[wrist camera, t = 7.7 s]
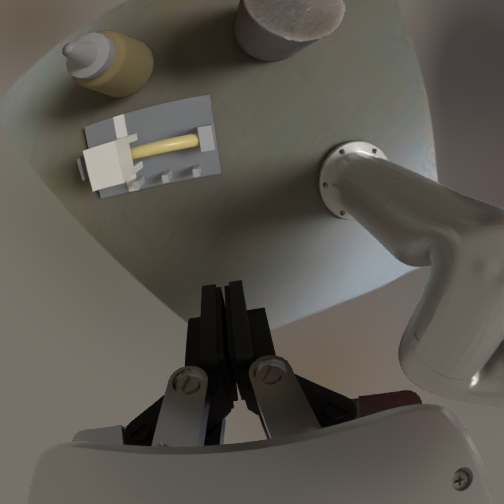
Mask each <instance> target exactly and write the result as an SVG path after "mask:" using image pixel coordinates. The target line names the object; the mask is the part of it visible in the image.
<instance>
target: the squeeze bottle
mask: <svg viewBox="0 0 504 504" xmlns="http://www.w3.org/2000/svg"><path fill="white" fill-rule="evenodd" d="M62 53H63V55H64V56H65V57H67V62H66V65H67V69H68V71H69V73H70V74H71V75H72V76H73V79H74V80H75V81H76V82H77V83H78V84H79V86H82V87H85V88H88V89H91V90H94V91H97V92H100V93H103V94H106V95H108V96H111V97H114V98H116V97H126V96H129V95H131V94H133V93H135V92H137V91H138V90H139V89H140V88H141V87H142V86H144V85H145V84H146V83H147V81H148V79H149V77H150V75H151V74H152V72H153V64H154V58H153V55H152V52H151V49H150V48H149V47H148V46H147V45H146V44H145V43H144V42H141V41H139V40H136V39H134V38H132V37H129V36H126V35H124V34H121V33H119V32H115V31H111V30H104V31H98V32H95V33H90V34H86V35H84V36H83V37H81V38H79V39H78V40H77V41H76V42H70V43H67V44H66V45H65V46H64V47H63V50H62Z"/></svg>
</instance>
